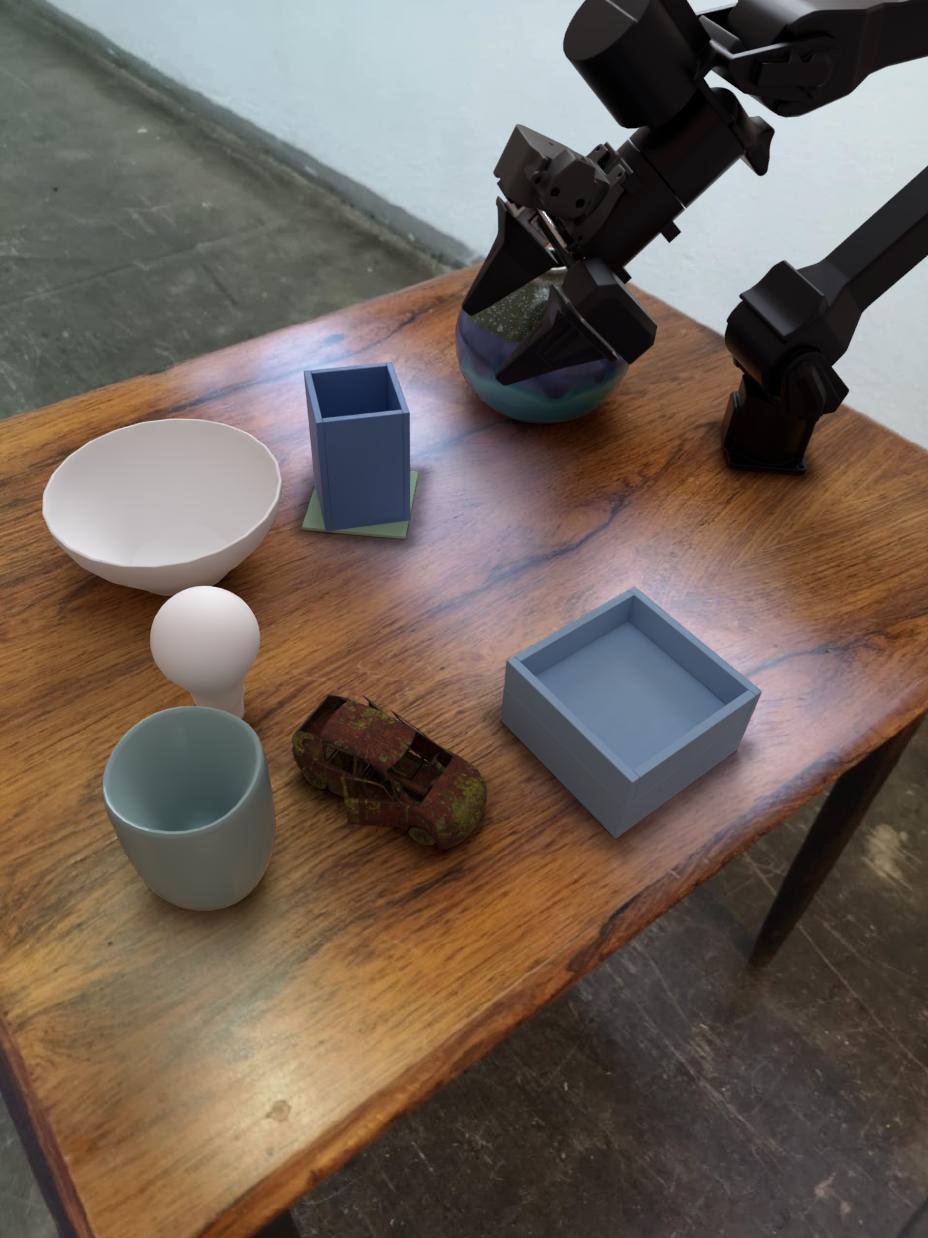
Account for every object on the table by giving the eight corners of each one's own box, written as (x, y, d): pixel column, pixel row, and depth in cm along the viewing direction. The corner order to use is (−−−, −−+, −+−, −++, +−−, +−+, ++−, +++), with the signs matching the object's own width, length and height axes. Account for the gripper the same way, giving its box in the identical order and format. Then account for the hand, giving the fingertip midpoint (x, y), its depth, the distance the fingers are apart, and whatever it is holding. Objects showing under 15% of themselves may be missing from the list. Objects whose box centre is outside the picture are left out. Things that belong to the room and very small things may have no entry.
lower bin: (619, 646, 67) (634, 585, 62) (737, 749, 61) (762, 691, 56) (499, 719, 62) (506, 659, 57) (615, 839, 56) (632, 783, 52)
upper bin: (394, 468, 78) (392, 361, 71) (410, 520, 74) (410, 412, 67) (314, 477, 77) (303, 370, 70) (325, 531, 73) (315, 422, 66)
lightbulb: (290, 699, 62) (272, 580, 54) (246, 773, 58) (219, 656, 50) (207, 673, 63) (176, 553, 55) (158, 744, 59) (117, 625, 51)
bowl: (21, 599, 67) (-12, 524, 62) (153, 470, 78) (134, 397, 72) (217, 670, 64) (199, 596, 59) (329, 524, 74) (322, 451, 69)
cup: (256, 946, 51) (229, 852, 44) (119, 915, 52) (70, 818, 44) (302, 821, 56) (285, 718, 49) (176, 795, 57) (141, 691, 50)
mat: (418, 474, 79) (418, 471, 78) (405, 539, 73) (405, 536, 73) (322, 465, 79) (322, 462, 79) (302, 529, 73) (301, 527, 73)
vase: (421, 415, 84) (422, 273, 74) (499, 336, 94) (508, 200, 84) (582, 471, 80) (606, 327, 70) (646, 382, 89) (675, 243, 79)
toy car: (272, 791, 58) (262, 743, 54) (338, 711, 62) (333, 662, 58) (444, 884, 54) (446, 841, 50) (502, 793, 58) (508, 746, 54)
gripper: (537, 30, 62) (374, 211, 68) (641, 144, 50) (432, 352, 56) (631, 150, 69) (476, 303, 75) (742, 274, 57) (546, 446, 63)
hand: (481, 344), depth 67 cm, fingers open, 9 cm apart
